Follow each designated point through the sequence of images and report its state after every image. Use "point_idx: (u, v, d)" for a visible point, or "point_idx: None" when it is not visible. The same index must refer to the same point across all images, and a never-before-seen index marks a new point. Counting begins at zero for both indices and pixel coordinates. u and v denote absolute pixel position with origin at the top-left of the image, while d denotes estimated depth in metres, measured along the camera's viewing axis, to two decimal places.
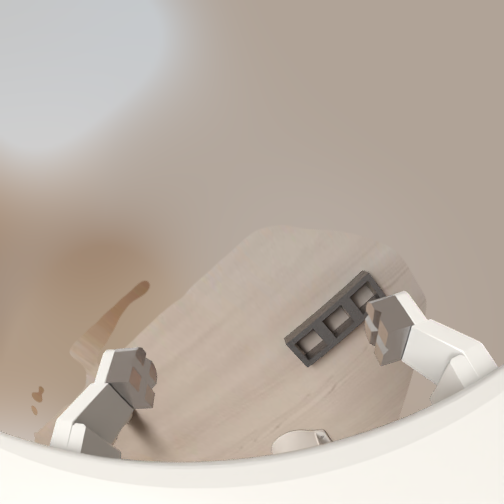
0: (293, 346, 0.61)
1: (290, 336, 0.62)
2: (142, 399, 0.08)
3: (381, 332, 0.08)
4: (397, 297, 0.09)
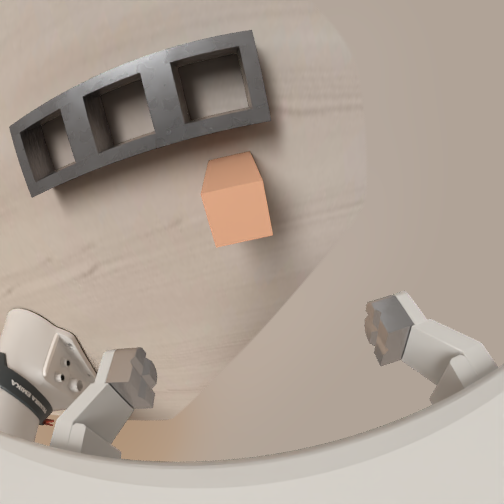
0: (18, 137, 0.19)
1: None
2: (142, 399, 0.08)
3: (381, 332, 0.08)
4: (397, 297, 0.09)
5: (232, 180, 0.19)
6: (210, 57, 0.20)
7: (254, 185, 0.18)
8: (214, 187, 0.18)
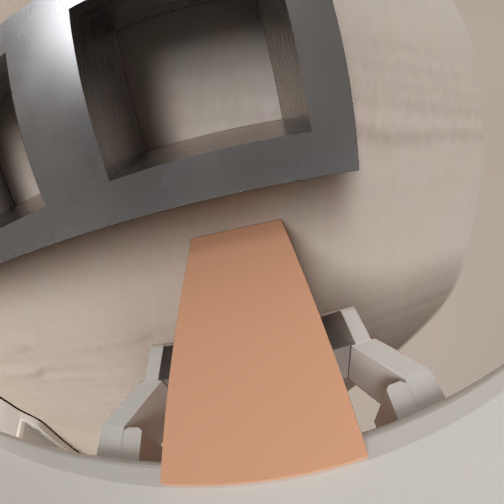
0: None
1: None
2: None
3: None
4: (342, 312, 0.09)
5: (260, 422, 0.05)
6: None
7: None
8: (201, 449, 0.05)
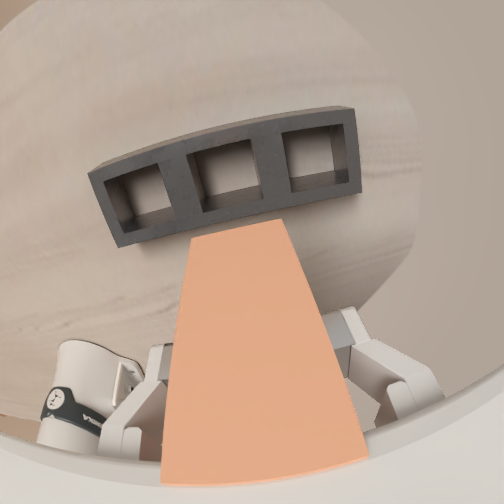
0: (101, 185, 0.23)
1: (108, 162, 0.24)
2: None
3: None
4: (342, 312, 0.09)
5: (260, 421, 0.05)
6: None
7: (338, 466, 0.04)
8: (202, 449, 0.05)
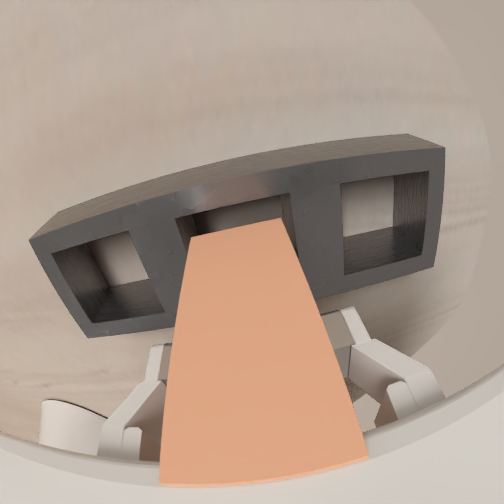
0: (49, 259, 0.14)
1: (59, 219, 0.14)
2: None
3: None
4: (343, 312, 0.09)
5: (259, 421, 0.05)
6: None
7: (338, 466, 0.04)
8: (200, 448, 0.05)
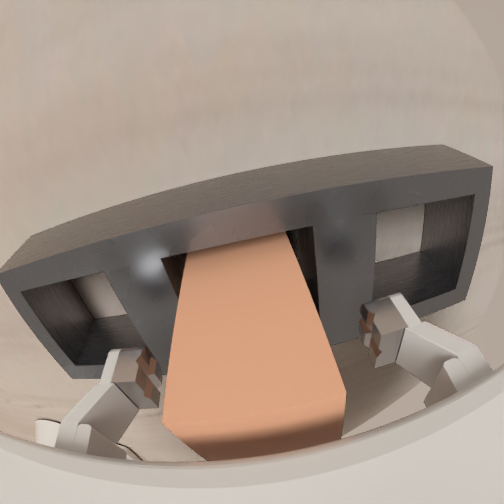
0: (19, 297, 0.10)
1: (29, 248, 0.11)
2: (148, 399, 0.08)
3: (374, 334, 0.08)
4: (392, 299, 0.09)
5: (251, 365, 0.06)
6: None
7: (319, 404, 0.05)
8: (199, 390, 0.06)
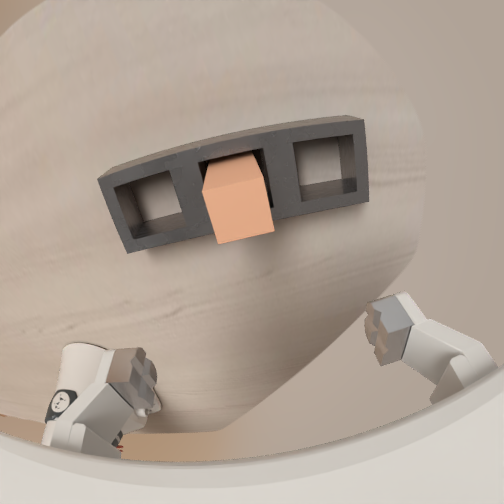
0: (111, 191, 0.23)
1: (118, 168, 0.24)
2: (142, 399, 0.08)
3: (381, 332, 0.08)
4: (397, 297, 0.09)
5: (233, 177, 0.19)
6: None
7: (255, 182, 0.18)
8: (215, 184, 0.19)
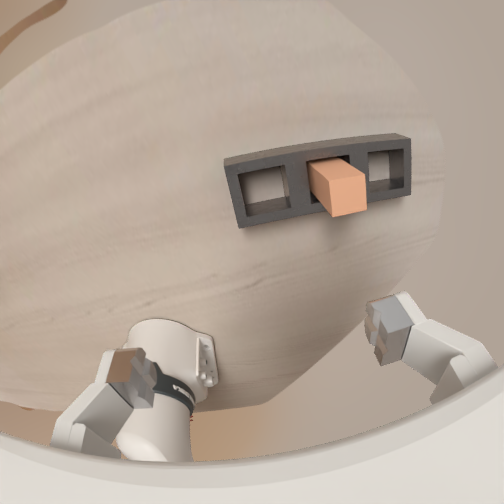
0: (234, 177, 0.32)
1: (236, 159, 0.33)
2: (142, 399, 0.08)
3: (381, 332, 0.08)
4: (397, 297, 0.09)
5: (343, 173, 0.28)
6: None
7: (360, 177, 0.27)
8: (334, 177, 0.27)
